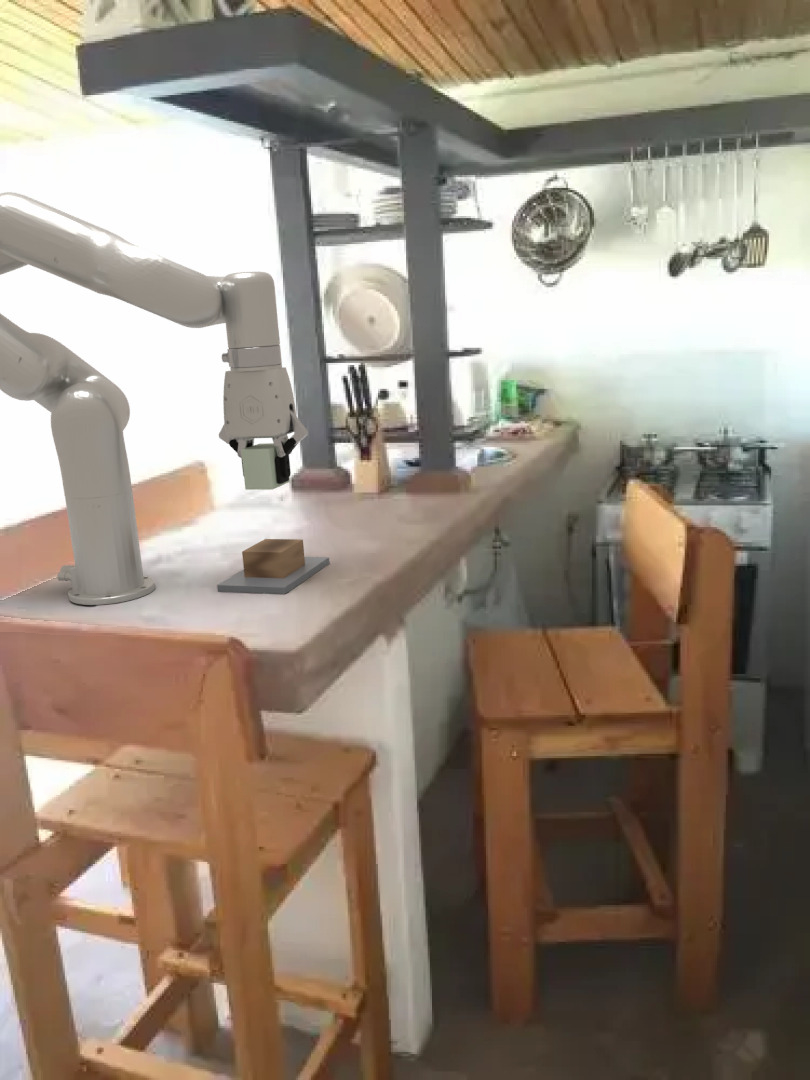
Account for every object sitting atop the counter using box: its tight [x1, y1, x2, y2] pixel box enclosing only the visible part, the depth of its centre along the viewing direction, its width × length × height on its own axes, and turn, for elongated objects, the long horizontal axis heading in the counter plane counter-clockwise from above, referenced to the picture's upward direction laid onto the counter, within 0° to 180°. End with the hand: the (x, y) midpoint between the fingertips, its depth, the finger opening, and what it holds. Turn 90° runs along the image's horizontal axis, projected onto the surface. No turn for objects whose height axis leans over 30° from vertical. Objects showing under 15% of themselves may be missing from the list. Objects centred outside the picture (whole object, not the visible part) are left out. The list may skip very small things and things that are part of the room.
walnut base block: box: [241, 538, 306, 578], centre depth 144 cm, size 6×8×4 cm
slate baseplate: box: [216, 556, 330, 595], centre depth 145 cm, size 11×17×1 cm, turn 162°
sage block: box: [241, 442, 291, 491], centre depth 141 cm, size 4×6×6 cm
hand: (267, 481), depth 142 cm, fingers closed on sage block, 4 cm apart
